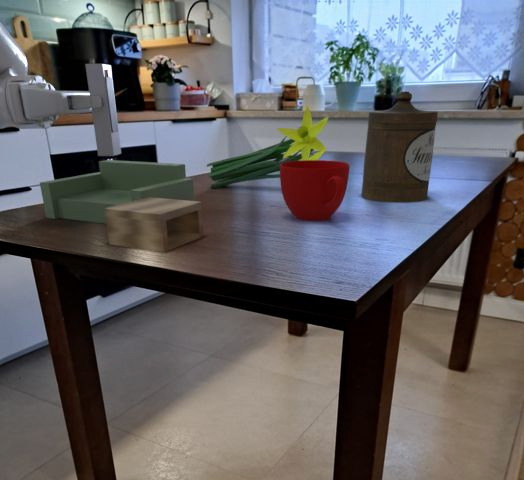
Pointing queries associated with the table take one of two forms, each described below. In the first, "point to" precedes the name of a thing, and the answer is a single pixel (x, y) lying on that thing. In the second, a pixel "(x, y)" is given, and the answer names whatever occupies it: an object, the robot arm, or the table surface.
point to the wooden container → (399, 152)
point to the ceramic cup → (313, 187)
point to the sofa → (114, 188)
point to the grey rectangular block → (104, 109)
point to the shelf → (154, 223)
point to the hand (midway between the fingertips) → (107, 101)
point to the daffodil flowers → (271, 155)
